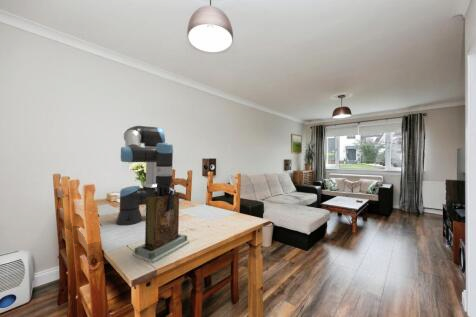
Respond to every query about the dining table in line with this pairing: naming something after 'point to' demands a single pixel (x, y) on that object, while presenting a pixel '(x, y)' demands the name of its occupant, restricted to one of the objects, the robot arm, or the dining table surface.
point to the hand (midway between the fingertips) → (163, 223)
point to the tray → (161, 249)
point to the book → (161, 221)
